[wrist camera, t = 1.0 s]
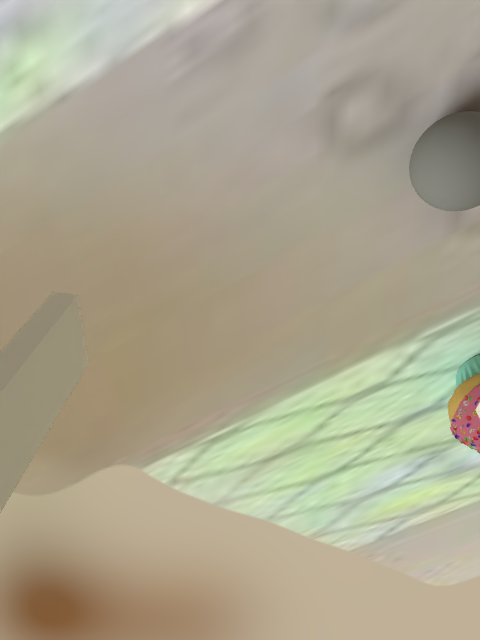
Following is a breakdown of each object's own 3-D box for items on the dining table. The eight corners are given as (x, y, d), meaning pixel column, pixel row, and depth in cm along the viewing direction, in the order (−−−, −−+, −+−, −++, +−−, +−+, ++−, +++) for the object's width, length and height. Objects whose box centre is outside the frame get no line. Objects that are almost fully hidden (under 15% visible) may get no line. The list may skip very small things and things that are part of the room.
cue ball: (414, 101, 27) (441, 113, 22) (506, 109, 26) (553, 124, 22) (390, 191, 30) (410, 219, 25) (473, 199, 29) (508, 229, 25)
